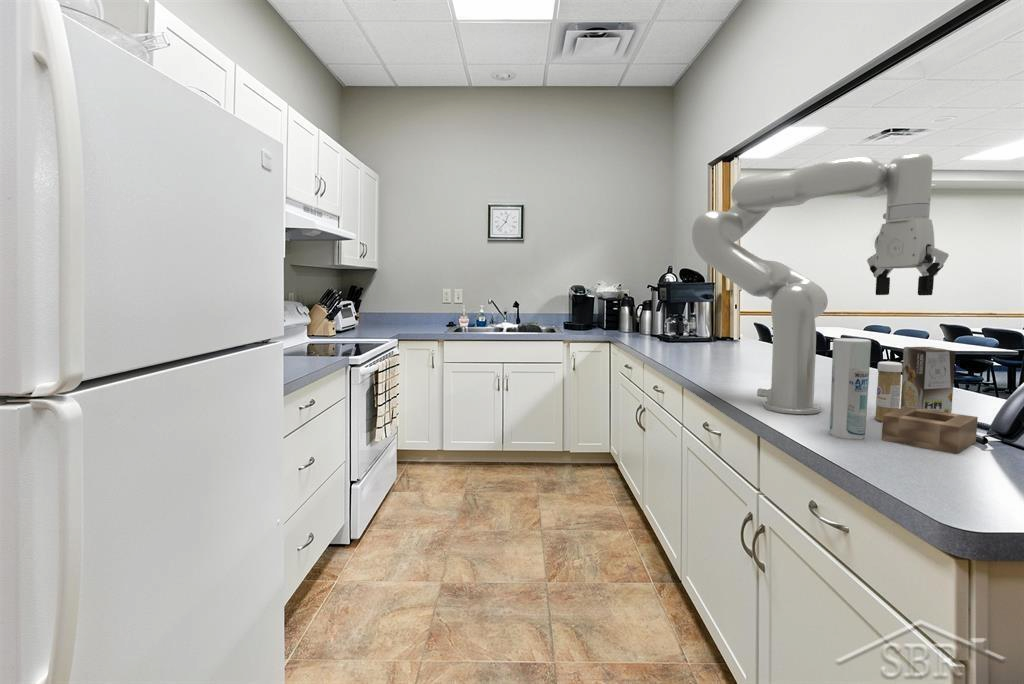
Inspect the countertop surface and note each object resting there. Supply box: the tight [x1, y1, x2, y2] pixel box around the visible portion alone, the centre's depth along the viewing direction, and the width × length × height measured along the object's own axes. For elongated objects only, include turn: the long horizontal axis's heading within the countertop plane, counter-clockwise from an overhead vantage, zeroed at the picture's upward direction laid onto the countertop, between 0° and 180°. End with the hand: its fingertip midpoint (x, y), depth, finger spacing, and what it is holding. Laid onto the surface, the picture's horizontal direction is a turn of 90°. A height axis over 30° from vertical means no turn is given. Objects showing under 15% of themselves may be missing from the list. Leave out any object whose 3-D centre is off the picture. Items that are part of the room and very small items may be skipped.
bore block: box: [881, 407, 979, 455], centre depth 104 cm, size 12×12×5 cm
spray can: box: [829, 337, 872, 440], centre depth 108 cm, size 6×6×20 cm
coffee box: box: [900, 346, 956, 413], centre depth 123 cm, size 9×6×16 cm
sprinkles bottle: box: [874, 361, 903, 422], centre depth 120 cm, size 5×5×14 cm
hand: (902, 295), depth 115 cm, fingers open, 9 cm apart
